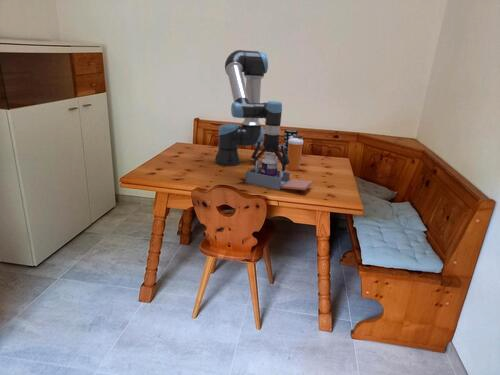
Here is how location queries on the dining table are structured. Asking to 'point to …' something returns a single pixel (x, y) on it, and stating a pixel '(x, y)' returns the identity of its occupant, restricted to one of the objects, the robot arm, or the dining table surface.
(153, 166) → the dining table surface
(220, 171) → the dining table surface
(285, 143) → the spotted tube
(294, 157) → the shaker bottle
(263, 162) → the pill bottle
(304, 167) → the dining table surface
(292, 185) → the tailgate
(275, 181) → the grey open box
